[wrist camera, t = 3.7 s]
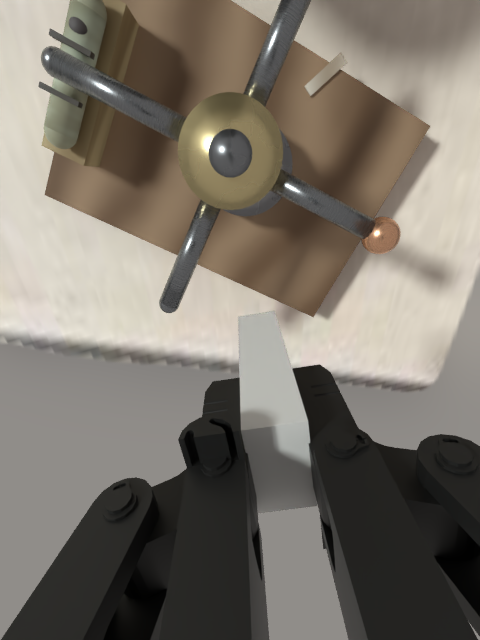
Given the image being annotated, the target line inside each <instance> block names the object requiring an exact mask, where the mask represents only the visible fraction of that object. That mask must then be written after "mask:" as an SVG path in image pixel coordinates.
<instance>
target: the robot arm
mask: <svg viewBox="0 0 480 640" xmlns="http://www.w3.org/2000/svg"><path fill="white" fill-rule="evenodd" d="M238 331H239V372H240V378H234V379H228V380H221V381H214V382H212V384H211V385H210V387H209V388H208V389H207V391H206V392H205V399H204V406H203V415H202V417H201V418H199V419H197V420H195V421H193V422H192V423H190V424H189V425H188V426H187V427H186V428H185V429H184V430H183V431H182V433H181V435H180V437H179V444H180V447H181V450H182V453H183V456H184V459H185V463H186V466H187V469H186V470H184V471H183V472H182V473H181V474H179V475H178V476H176V477H174V478H172V479H170V480H168V481H165V482H163V483H161V484H158V485H156V486H154V487H151V486H150V485H149V484H148V483H147V481H145V480H143V479H140V478H127V479H124V480H121V481H119V482H116V483H114V484H112V485H111V486H110V487H108V488H107V489H106V490H104V491H103V492H102V493H101V494H100V495H99V496H98V498H97V499H96V500H95V501H94V502H93V504H92V505H91V507H90V508H89V510H88V511H87V513H86V514H85V516H84V517H83V519H82V520H81V522H80V523H79V525H78V526H77V528H76V529H75V531H74V532H73V534H72V535H71V536H70V538H69V540H68V541H67V543H66V544H65V545H64V547H63V548H62V550H61V551H60V553H59V554H58V556H57V557H56V559H55V560H54V562H53V563H52V565H51V566H50V568H49V569H48V571H47V572H46V574H45V575H44V577H43V578H42V580H41V581H40V583H39V584H38V586H37V587H36V589H35V590H34V592H33V593H32V594H31V596H30V597H29V599H28V600H27V602H26V603H25V605H24V607H23V608H22V609H21V611H20V613H19V614H18V615H17V617H16V618H15V620H14V621H13V623H12V624H11V626H10V627H9V629H8V630H7V632H6V633H5V635H4V636H3V638H2V639H1V640H269V631H268V619H267V606H266V594H265V580H264V566H263V553H262V542H261V541H262V540H261V533H260V528H259V524H258V513H264V512H272V511H280V510H288V509H295V508H303V507H311V506H317V504H318V508H319V512H320V519H321V529H322V539H323V548H324V549H327V553H328V557H329V561H330V565H331V570H332V573H333V578H334V582H335V586H336V590H337V594H338V598H339V602H340V606H341V610H342V614H343V618H344V623H345V627H346V630H347V635H348V639H349V640H478V639H477V637H476V635H475V634H474V631H473V629H472V628H471V626H470V624H471V625H472V627H473V628H474V629H475V631H476V632H477V633H478V635H479V636H480V446H478V445H477V444H475V443H473V442H472V441H470V440H466V439H463V438H461V437H458V436H453V435H442V434H440V435H435V436H429V437H427V438H426V439H424V440H423V441H421V442H420V444H419V447H418V449H417V450H409V449H400V448H393V447H388V446H384V445H381V444H378V443H376V442H374V441H373V440H372V439H371V438H370V437H369V435H368V434H367V433H365V432H363V431H362V430H360V429H359V428H358V427H357V425H356V423H355V421H354V419H353V417H352V415H351V413H350V411H349V409H348V407H347V405H346V403H345V401H344V399H343V397H342V395H341V393H340V391H339V389H338V387H337V385H336V383H335V380H334V378H333V376H332V374H331V372H329V371H328V370H327V369H325V368H324V367H322V366H321V365H314V366H307V367H300V368H294V369H292V366H291V363H290V360H289V357H288V353H287V350H286V347H285V343H284V340H283V337H282V333H281V330H280V327H279V324H278V320H277V317H276V314H275V311H271V312H265V313H259V314H253V315H246V316H240V317H238ZM316 500H317V501H316ZM257 509H258V512H257ZM468 621H469V622H468ZM469 623H470V624H469Z"/></svg>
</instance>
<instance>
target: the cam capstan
mask: <svg viewBox="0 0 480 640" xmlns="http://www.w3.org/2000/svg"><path fill="white" fill-rule="evenodd" d="M310 2H311V0H281V2H280V4H279V7H278V9H277V12H276V14H275V17H274V19H273V21H272V24H271V26H270V29H269V31H268V34H267V36H266V39H265V41H264V44H263V46H262V49H261V51H260V54H259V56H258V59H257V61H256V63H255V66H254V68H253V71H252V73H251V76H250V78H249V81H248V83H247V86H246V88H245V91H244V93H243V94H241V93H236V92H224V93H218V94H215V95H212V96H210V97H208V98H206V99H204V100H203V101H202V102H200V103H199V104H198V105H197V106H196V107H195V108H194V109H193V110H192V111H191V112H190V114H189V115H188V117H187V118H186V117H185V116H183V115H181V114H179V113H177V112H175V111H174V110H172V109H170V108H168V107H166V106H164V105H162V104H161V103H159V102H157V101H155V100H153V99H151V98H150V97H148V96H146V95H144V94H142V93H140V92H138V91H137V90H135V89H133V88H131V87H129V86H127V85H126V84H124V83H122V82H120V81H118V80H116V79H114V78H113V77H111V76H109V75H107V74H105V73H103V72H102V71H100V70H98V69H96V68H94V67H92V66H90V65H89V64H87V63H85V62H83V61H81V60H79V59H78V58H76V57H74V56H72V55H70V54H68V53H66V52H65V51H63V50H61V49H59V48H57V47H53V46H49V47H46V48H45V49H44V50H43V51H42V54H41V61H42V65H43V67H44V69H45V70H46V71H47V73H48V74H50V75H51V76H52V77H54V78H56V79H58V80H60V81H62V82H64V83H66V84H67V85H69V86H71V87H73V88H75V89H77V90H79V91H81V92H83V93H85V94H87V95H88V96H90V97H92V98H94V99H96V100H98V101H100V102H102V103H104V104H106V105H108V106H109V107H111V108H113V109H115V110H117V111H119V112H121V113H123V114H125V115H127V116H129V117H130V118H132V119H134V120H136V121H138V122H140V123H142V124H144V125H146V126H148V127H150V128H151V129H153V130H155V131H157V132H159V133H161V134H163V135H165V136H167V137H169V138H171V139H172V140H174V141H176V142H178V160H179V165H180V169H181V172H182V175H183V177H184V179H185V181H186V183H187V184H188V186H189V187H190V189H191V190H192V191H193V193H195V194H196V195H197V196H198V197H199V198H200V202H199V204H198V207H197V209H196V212H195V214H194V217H193V219H192V222H191V224H190V227H189V229H188V231H187V234H186V236H185V239H184V241H183V244H182V246H181V249H180V251H179V254H178V256H177V259H176V261H175V264H174V266H173V269H172V271H171V273H170V276H169V278H168V281H167V283H166V286H165V288H164V291H163V293H162V296H161V298H160V301H159V305H160V308H161V309H162V310H163V311H164V312H166V313H172V312H175V311H176V310H177V309H178V307H179V305H180V302H181V300H182V298H183V295H184V293H185V291H186V288H187V286H188V284H189V281H190V279H191V277H192V274H193V272H194V270H195V268H196V265H197V263H198V261H199V258H200V256H201V254H202V251H203V249H204V247H205V244H206V242H207V240H208V237H209V235H210V233H211V231H212V228H213V226H214V224H215V221H216V219H217V217H218V214H219V212H220V210H221V209H223V210H224V211H226V212H228V213H231V214H234V215H237V216H254V215H258V214H261V213H263V212H265V211H267V210H269V209H270V208H272V207H273V206H274V205H275V204H276V203H277V202H278V201H279V200H280V199H281V198H282V197H283V198H285V199H287V200H289V201H291V202H293V203H295V204H297V205H298V206H300V207H302V208H304V209H306V210H308V211H310V212H312V213H314V214H316V215H318V216H319V217H321V218H323V219H325V220H327V221H329V222H331V223H333V224H335V225H337V226H339V227H340V228H342V229H344V230H346V231H348V232H350V233H352V234H354V235H356V236H358V237H360V238H361V240H362V244H363V246H364V247H365V248H366V249H367V250H368V251H369V252H371V253H374V254H384V253H387V252H389V251H391V250H392V249H393V248H394V247H395V246H396V245H397V244H398V242H399V239H400V228H399V226H398V224H397V223H396V222H395V221H394V220H393V219H390V218H388V217H378V218H375V219H373V218H371V217H369V216H367V215H366V214H364V213H362V212H360V211H358V210H356V209H354V208H353V207H351V206H349V205H347V204H345V203H343V202H342V201H340V200H338V199H336V198H334V197H332V196H330V195H329V194H327V193H325V192H323V191H321V190H319V189H318V188H316V187H314V186H312V185H310V184H308V183H306V182H305V181H303V180H301V179H299V178H297V177H295V176H294V175H292V165H293V163H292V154H291V149H290V146H289V143H288V141H287V139H286V137H285V136H284V134H283V133H282V131H281V130H280V129H279V127H278V125H277V123H276V121H275V119H274V118H273V116H272V115H271V113H270V112H269V111H268V110H267V108H266V107H265V106H266V103H267V101H268V99H269V96H270V94H271V92H272V89H273V87H274V85H275V83H276V80H277V78H278V76H279V73H280V71H281V69H282V66H283V64H284V62H285V59H286V57H287V55H288V52H289V50H290V48H291V46H292V43H293V41H294V39H295V36H296V34H297V32H298V29H299V27H300V25H301V22H302V20H303V18H304V15H305V13H306V11H307V9H308V6H309V4H310Z"/></svg>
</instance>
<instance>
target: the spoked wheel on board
mask: <svg viewBox="0 0 480 640" xmlns="http://www.w3.org/2000/svg"><path fill="white" fill-rule="evenodd" d="M270 26H271V25H269V24H267V23H266V22H264V21H263V20H261V19H259V18H258V17H256V16H255V15H253V14H251V13H250V12H248V11H247V10H245V9H244V8H242V7H240V6H239V5H237V4H236V3H234V2H232V1H231V0H70V4H69V9H68V13H67V18H66V23H65V28H64V33H63V35H61V34H59V33H57V32H56V31H54V30H52V29H50V31H49V35H50V36H52V37H53V38H54V39H56V40H58V41H60V42H61V47H60V49H61V50H63V51H65V52H66V53H68V54H70V55H72V56H74V57H76V58H78V59H79V60H81V61H83V62H85V63H87V64H89V65H90V66H92V67H94V68H96V69H98V70H100V71H102V72H103V73H105V74H107V75H109V76H111V77H113V78H114V79H116V80H118V81H120V82H122V83H124V84H126V85H127V86H129V87H131V88H133V89H135V90H137V91H138V92H140V93H142V94H144V95H146V96H148V97H150V98H151V99H153V100H155V101H157V102H159V103H161V104H162V105H164V106H166V107H168V108H170V109H172V110H174V111H175V112H177V113H179V114H181V115H183V116H185V117H186V118H187V117H188V115H189V114H190V112H191V111H192V110H193V109H194V108H195V107H196V106H197V105H198V104H199V103H200V102H202V101H203V100H204V99H206V98H208V97H210V96H212V95H215V94H218V93H224V92H236V93H241V94H243V93H244V91H245V88H246V86H247V83H248V81H249V78H250V76H251V73H252V71H253V68H254V66H255V63H256V61H257V59H258V56H259V54H260V51H261V49H262V46H263V44H264V41H265V39H266V36H267V34H268V31H269V29H270ZM346 63H347V62H346V60H345V58H344V56H343V55H342V53H340V54H339V55H338V56H337V57H335V58H334V59H333V60H332V61H331V62H330V63H329V62H328V61H326V60H324V59H323V58H321V57H320V56H318V55H317V54H315V53H313V52H312V51H310V50H309V49H307V48H305V47H304V46H302V45H301V44H299V43H298V42H296V41H293V43H292V46H291V48H290V50H289V52H288V55H287V57H286V59H285V62H284V64H283V66H282V69H281V71H280V73H279V76H278V78H277V80H276V83H275V85H274V87H273V89H272V92H271V94H270V96H269V99H268V101H267V103H266V106H265V107H266V108H267V110H268V111H269V112H270V113H271V115H272V116H273V118H274V119H275V121H276V123H277V125H278V127H279V129H280V130H281V131H282V133H283V134H284V136H285V137H286V139H287V141H288V143H289V146H290V149H291V154H292V163H293V165H292V175H294V176H295V177H297V178H299V179H301V180H303V181H305V182H306V183H308V184H310V185H312V186H314V187H316V188H318V189H319V190H321V191H323V192H325V193H327V194H329V195H330V196H332V197H334V198H336V199H338V200H340V201H342V202H343V203H345V204H347V205H349V206H351V207H353V208H354V209H356V210H358V211H360V212H362V213H364V214H366V215H367V216H369V217H371V218H373V219H374V217H375V215H376V214H377V212H378V210H379V209H380V207H381V206H382V204H383V202H384V201H385V199H386V197H387V196H388V194H389V193H390V191H391V189H392V188H393V186H394V184H395V183H396V181H397V180H398V178H399V176H400V175H401V173H402V171H403V170H404V168H405V166H406V165H407V163H408V162H409V160H410V158H411V157H412V155H413V153H414V152H415V150H416V149H417V147H418V145H419V144H420V142H421V140H422V139H423V137H424V136H425V134H426V132H427V131H428V129H429V127H430V126H429V125H428V124H426V123H425V122H423V121H421V120H420V119H418V118H417V117H415V116H413V115H412V114H410V113H409V112H407V111H405V110H404V109H402V108H401V107H399V106H398V105H396V104H394V103H393V102H391V101H390V100H388V99H386V98H385V97H383V96H382V95H380V94H378V93H377V92H375V91H374V90H372V89H371V88H369V87H367V86H366V85H364V84H363V83H361V82H359V81H358V80H356V79H355V78H353V77H351V76H350V75H348V74H347V73H345V72H344V71H342V70H340V69H341V68H342V67H343V66H344V65H345V64H346ZM39 87H40V88H42V89H44V90H46V91H48V92H50V93H51V94H50V99H49V104H48V109H47V113H46V118H45V123H44V137H43V142H42V146H44V147H46V148H48V149H50V150H52V151H54V156H53V160H52V165H51V169H50V174H49V178H48V182H47V187H46V191H45V195H46V196H49V197H51V198H53V199H55V200H57V201H60V202H62V203H64V204H66V205H68V206H71V207H73V208H75V209H77V210H79V211H82V212H84V213H86V214H88V215H90V216H93V217H95V218H97V219H99V220H101V221H104V222H106V223H108V224H110V225H112V226H114V227H117V228H119V229H121V230H123V231H125V232H128V233H130V234H132V235H134V236H136V237H139V238H141V239H143V240H145V241H147V242H150V243H152V244H154V245H156V246H158V247H161V248H163V249H165V250H167V251H169V252H172V253H174V254H176V255H178V254H179V251H180V249H181V246H182V244H183V241H184V239H185V236H186V234H187V231H188V229H189V227H190V224H191V222H192V219H193V217H194V214H195V212H196V209H197V207H198V204H199V202H200V198H199V197H198V196H197V195H196V194H195V193H193V191H192V190H191V189H190V187H189V186H188V184H187V183H186V181H185V179H184V177H183V175H182V172H181V169H180V165H179V160H178V142H176V141H174V140H172V139H171V138H169V137H167V136H165V135H163V134H161V133H159V132H157V131H155V130H153V129H151V128H150V127H148V126H146V125H144V124H142V123H140V122H138V121H136V120H134V119H132V118H130V117H129V116H127V115H125V114H123V113H121V112H119V111H117V110H115V109H113V108H111V107H109V106H108V105H106V104H104V103H102V102H100V101H98V100H96V99H94V98H92V97H90V96H88V95H87V94H85V93H83V92H81V91H79V90H77V89H75V88H73V87H71V86H69V85H67V84H66V83H64V82H62V81H60V80H58V79H56V78H54V80H53V85H52V87H50V86H48V85H46V84H44V83H42V82H39ZM360 240H361V238H360V237H358V236H356V235H354V234H352V233H350V232H348V231H346V230H344V229H342V228H340V227H339V226H337V225H335V224H333V223H331V222H329V221H327V220H325V219H323V218H321V217H319V216H318V215H316V214H314V213H312V212H310V211H308V210H306V209H304V208H302V207H300V206H298V205H297V204H295V203H293V202H291V201H289V200H287V199H285V198H283V197H282V198H281V199H280V200H279V201H278V202H277V203H276V204H275V205H274V206H273V207H272V208H270V209H269V210H267V211H265V212H263V213H261V214H258V215H254V216H237V215H234V214H231V213H228V212H226V211H224V210H223V209H221V210H220V212H219V214H218V217H217V219H216V221H215V224H214V226H213V228H212V231H211V233H210V235H209V237H208V240H207V242H206V244H205V247H204V249H203V251H202V254H201V256H200V258H199V261H198V263H197V264H198V265H200V266H202V267H205V268H207V269H209V270H211V271H213V272H216V273H218V274H220V275H222V276H224V277H227V278H229V279H231V280H233V281H235V282H237V283H240V284H242V285H244V286H246V287H248V288H251V289H253V290H255V291H257V292H259V293H262V294H264V295H266V296H268V297H270V298H273V299H275V300H277V301H279V302H281V303H284V304H286V305H288V306H290V307H292V308H295V309H297V310H299V311H301V312H303V313H306V314H308V315H310V316H312V317H313V316H314V315H315V313H316V311H317V310H318V308H319V307H320V305H321V303H322V302H323V300H324V298H325V297H326V295H327V294H328V292H329V290H330V289H331V287H332V285H333V284H334V282H335V281H336V279H337V277H338V276H339V274H340V272H341V271H342V269H343V267H344V266H345V264H346V263H347V261H348V259H349V258H350V256H351V254H352V253H353V251H354V250H355V248H356V246H357V245H358V243H359V241H360Z"/></svg>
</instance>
